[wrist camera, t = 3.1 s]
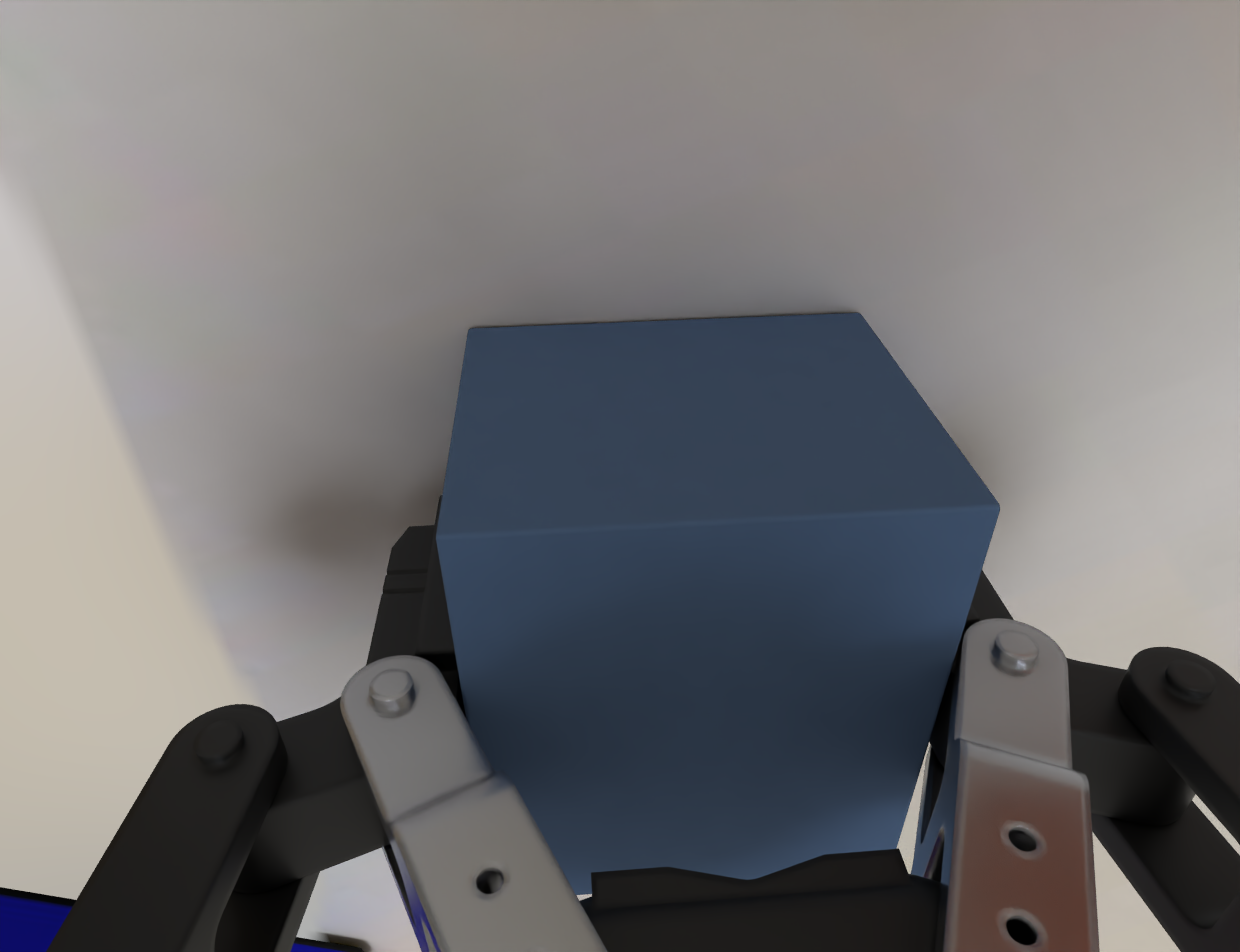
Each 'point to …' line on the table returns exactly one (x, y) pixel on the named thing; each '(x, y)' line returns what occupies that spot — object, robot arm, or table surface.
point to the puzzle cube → (28, 922)
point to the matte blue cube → (705, 585)
